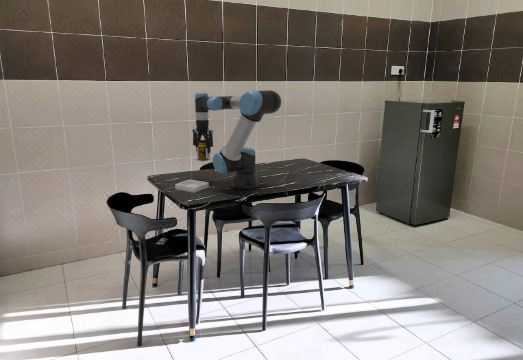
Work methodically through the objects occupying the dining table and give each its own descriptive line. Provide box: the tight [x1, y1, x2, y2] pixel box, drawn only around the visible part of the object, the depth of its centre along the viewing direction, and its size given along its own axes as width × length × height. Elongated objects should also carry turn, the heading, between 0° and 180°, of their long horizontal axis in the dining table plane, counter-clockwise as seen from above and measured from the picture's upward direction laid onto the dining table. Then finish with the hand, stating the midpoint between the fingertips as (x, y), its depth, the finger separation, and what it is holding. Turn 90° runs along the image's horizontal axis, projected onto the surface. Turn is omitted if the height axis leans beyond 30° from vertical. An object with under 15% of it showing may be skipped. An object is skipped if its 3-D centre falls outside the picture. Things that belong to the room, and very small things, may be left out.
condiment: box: [193, 139, 212, 162], centre depth 238 cm, size 7×8×12 cm
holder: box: [174, 179, 210, 194], centre depth 229 cm, size 14×13×3 cm
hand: (203, 157), depth 239 cm, fingers closed on condiment, 6 cm apart
